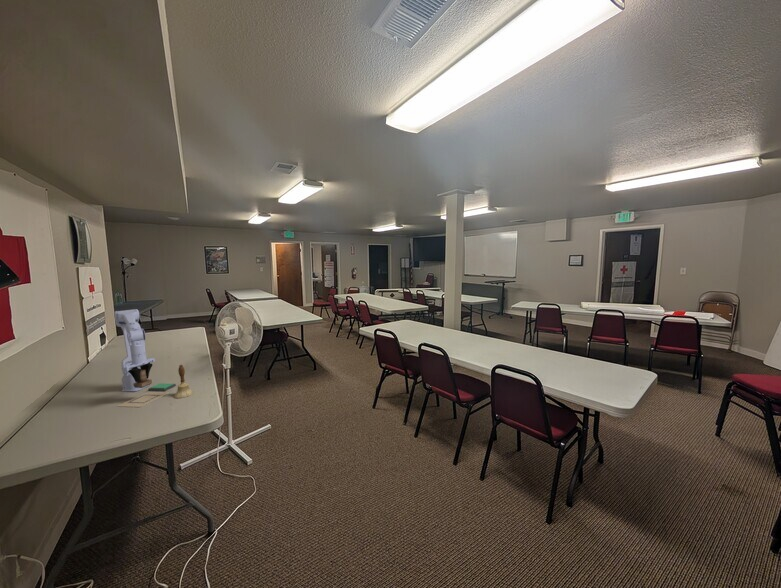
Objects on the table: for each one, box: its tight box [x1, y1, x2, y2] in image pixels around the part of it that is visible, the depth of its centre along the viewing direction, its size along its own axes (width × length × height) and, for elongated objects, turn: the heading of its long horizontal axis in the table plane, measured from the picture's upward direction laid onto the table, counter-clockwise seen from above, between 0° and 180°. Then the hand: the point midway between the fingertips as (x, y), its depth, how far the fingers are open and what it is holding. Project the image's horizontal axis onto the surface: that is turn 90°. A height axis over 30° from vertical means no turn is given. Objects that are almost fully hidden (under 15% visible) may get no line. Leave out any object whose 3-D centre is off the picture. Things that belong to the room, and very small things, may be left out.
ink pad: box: [147, 382, 177, 392], centre depth 162 cm, size 10×7×2 cm
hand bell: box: [173, 364, 194, 399], centre depth 152 cm, size 8×8×16 cm
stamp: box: [133, 370, 153, 389], centre depth 148 cm, size 5×5×8 cm
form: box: [117, 391, 170, 408], centre depth 149 cm, size 13×16×1 cm
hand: (141, 380), depth 148 cm, fingers closed on stamp, 4 cm apart
